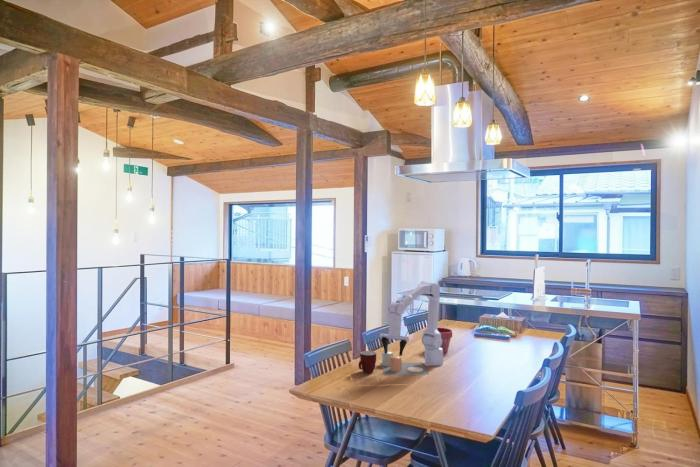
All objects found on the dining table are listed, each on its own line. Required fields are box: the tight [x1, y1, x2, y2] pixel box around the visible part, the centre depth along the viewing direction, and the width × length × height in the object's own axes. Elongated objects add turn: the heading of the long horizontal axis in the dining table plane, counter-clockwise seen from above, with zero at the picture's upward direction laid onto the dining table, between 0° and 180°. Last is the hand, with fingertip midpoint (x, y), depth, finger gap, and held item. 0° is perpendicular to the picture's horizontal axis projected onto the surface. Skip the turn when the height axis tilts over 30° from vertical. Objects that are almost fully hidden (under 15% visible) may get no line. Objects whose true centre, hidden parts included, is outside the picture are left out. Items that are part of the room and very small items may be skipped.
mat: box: [379, 361, 430, 376], centre depth 231 cm, size 22×20×1 cm
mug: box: [358, 350, 377, 374], centre depth 225 cm, size 11×8×10 cm
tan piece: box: [390, 355, 403, 372], centre depth 229 cm, size 6×6×6 cm
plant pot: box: [437, 327, 453, 354], centre depth 266 cm, size 14×14×13 cm
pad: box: [407, 367, 423, 372], centre depth 229 cm, size 8×8×1 cm
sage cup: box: [381, 350, 394, 366], centre depth 237 cm, size 6×6×6 cm
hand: (393, 354), depth 223 cm, fingers open, 7 cm apart
